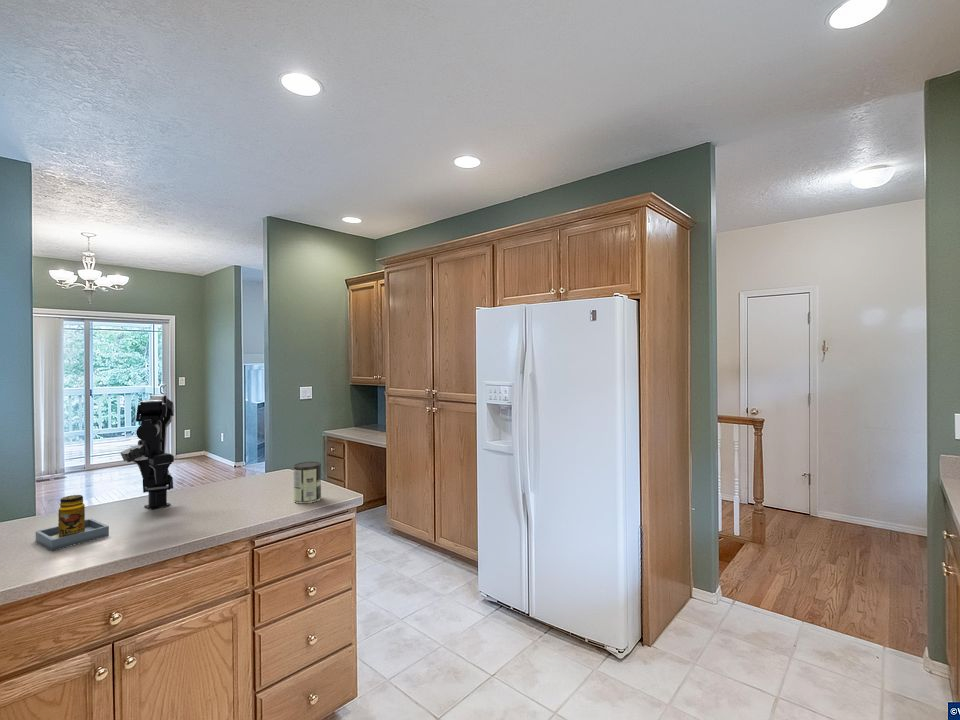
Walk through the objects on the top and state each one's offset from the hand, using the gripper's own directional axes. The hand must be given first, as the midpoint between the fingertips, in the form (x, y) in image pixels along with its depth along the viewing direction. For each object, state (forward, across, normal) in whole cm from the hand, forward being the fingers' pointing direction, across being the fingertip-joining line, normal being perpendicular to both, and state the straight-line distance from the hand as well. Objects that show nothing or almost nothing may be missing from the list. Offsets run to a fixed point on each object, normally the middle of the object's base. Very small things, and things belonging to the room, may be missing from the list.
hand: (151, 481), depth 160 cm
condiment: (+12, -1, -22) cm, 25 cm away
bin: (+13, -1, -21) cm, 25 cm away
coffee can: (+13, +27, +43) cm, 52 cm away
